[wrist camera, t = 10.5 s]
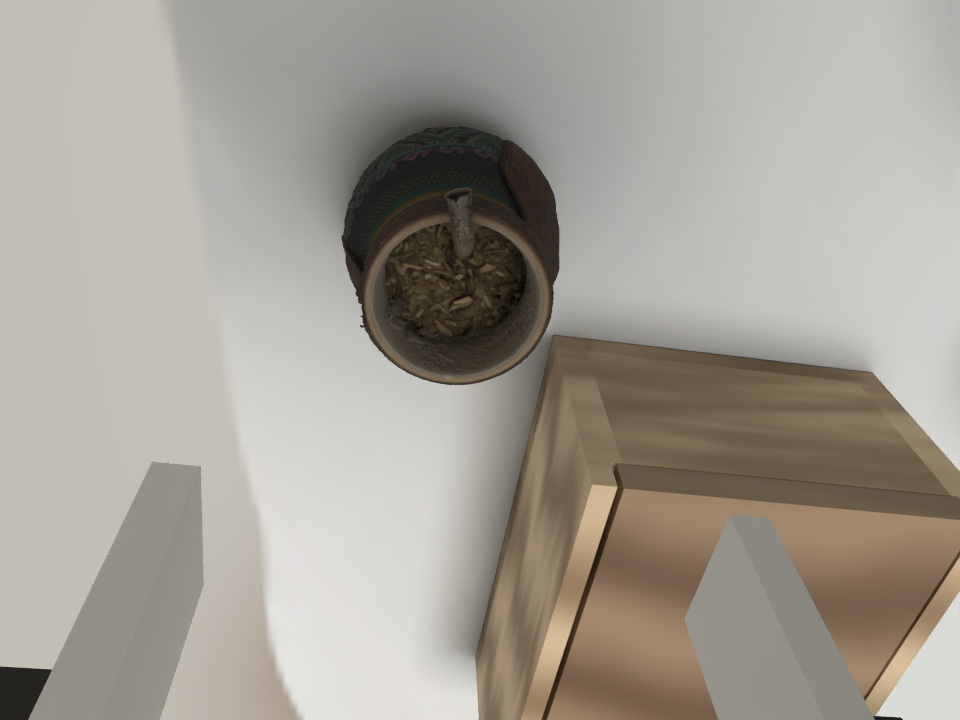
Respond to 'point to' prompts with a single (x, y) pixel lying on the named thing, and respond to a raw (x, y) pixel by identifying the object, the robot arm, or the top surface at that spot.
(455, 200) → the mate gourd
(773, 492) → the lid
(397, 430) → the top surface
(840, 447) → the wooden box
